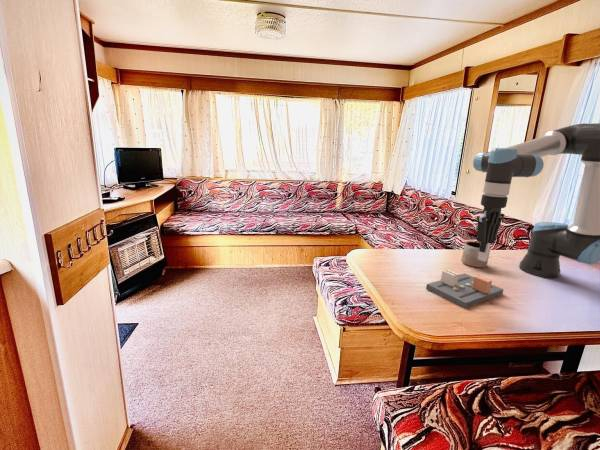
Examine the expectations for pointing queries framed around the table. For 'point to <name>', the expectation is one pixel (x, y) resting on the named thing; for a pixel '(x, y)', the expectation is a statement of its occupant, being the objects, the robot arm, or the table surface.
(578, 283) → the table surface
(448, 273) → the block
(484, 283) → the block
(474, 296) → the grey slider base plate
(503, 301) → the table surface
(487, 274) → the table surface
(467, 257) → the planter
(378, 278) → the table surface
